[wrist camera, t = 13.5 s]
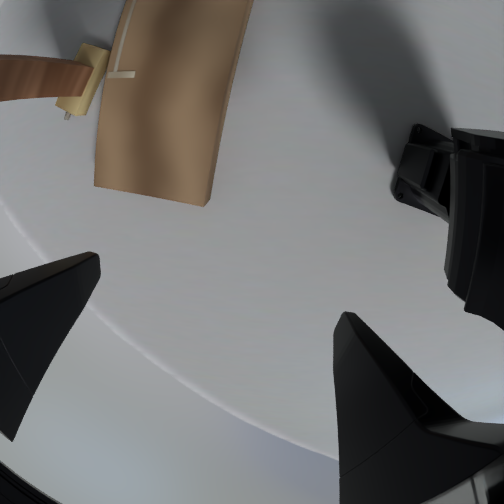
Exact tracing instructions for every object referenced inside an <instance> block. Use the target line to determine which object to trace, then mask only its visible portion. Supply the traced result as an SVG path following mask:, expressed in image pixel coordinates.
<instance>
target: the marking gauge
mask: <svg viewBox="0 0 504 504" xmlns="http://www.w3.org/2000/svg"><path fill="white" fill-rule="evenodd" d="M110 54H111V51H108V50H105V49H102V48H99V47H96V46H93V45H89V44H86V43H82V45H81V47H80V49H79V51H78V53H77V55H76V57H75V59H74V61H73V60H66V59H58V58H50V57H39V56H26V55H0V101H8V100H17V99H28V98H43V97H58V99H57V101H56V104H55V106H57V107H59V108H61V109H63V110H65V111H67V112H66V115H65V117H64V119H65V120H69V118H70V115H71V114H73V115H75V116H81V115H86V113H87V111H88V108H89V106H90V104H91V101H92V99H93V97H94V94H95V92H96V90H97V88H98V86H99V83H100V81H101V79H102V77H103V75H104V73H105V71H106V69H107V67H108V63H109V59H110Z"/></svg>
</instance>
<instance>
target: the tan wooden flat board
mask: <svg viewBox="0 0 504 504" xmlns="http://www.w3.org/2000/svg"><path fill="white" fill-rule="evenodd" d="M253 1H254V0H126V3H125V6H124V9H123V12H122V15H121V18H120V21H119V25H118V28H117V31H116V35H115V39H114V42H113V46H112V50H111V54H110V59H109V63H108V68H107V73H106V78H105V83H104V88H103V94H102V101H101V107H100V115H99V123H98V131H97V142H96V154H95V172H94V186H96V187H102V188H107V189H113V190H119V191H124V192H130V193H135V194H141V195H146V196H151V197H157V198H162V199H167V200H172V201H177V202H182V203H187V204H192V205H197V206H201V207H204V206H205V205H206V204H207V202H208V201H209V200H210V196H211V190H212V184H213V179H214V173H215V167H216V162H217V156H218V151H219V146H220V141H221V135H222V130H223V125H224V121H225V116H226V111H227V106H228V101H229V97H230V92H231V88H232V83H233V79H234V75H235V70H236V66H237V62H238V58H239V54H240V50H241V46H242V42H243V38H244V34H245V30H246V26H247V23H248V19H249V15H250V12H251V8H252V5H253Z"/></svg>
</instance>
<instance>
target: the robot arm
mask: <svg viewBox="0 0 504 504" xmlns="http://www.w3.org/2000/svg"><path fill="white" fill-rule="evenodd" d="M418 127H419V128H420V132H419V133H418V131H417V128H418ZM451 135H452V137H453V141H452V140H450V139H448V138H447V137H445V136H443V135H441V134H439V133H437V132H435V131H433V130H432V129H430V128H428V127H426V126H424V125H422V124H414V125H413V127H412V131H411V135H410V139H409V143H408V144H406V146H405V150H404V153H403V157H402V160H401V164H400V167H399V170H398V176H399V177H398V181H397V184H396V187H395V190H394V194H393V196H394V198H395V199H396V200H397V201H399V202H401V203H404V204H407V205H410V206H412V207H415V208H418V209H420V210H423V211H426V212H428V213H431V214H433V215H436V216H438V217H441V218H442V219H443V220H445V221H446V222H447V223H449V230H448V241H447V250H446V259H445V266H444V270H445V273H446V277H447V279H448V284H447V285H448V287H449V288H450V289H451V290H452V291H453V293H454V294H455V295H456V296H457V297H459V298H460V299H461V300H463V301H464V302H465V306H464V311H465V312H468V313H472V314H475V315H479V316H481V317H483V318H485V319H487V320H489V321H491V322H493V323H495V324H496V325H497V326H499V327H500V328H501V329H502V330H504V132H500V131H491V130H480V129H464V128H451ZM399 193H402V195H401V197H398V194H399ZM100 275H101V270H100V258H99V255H98V254H97V253H93V252H85V253H81V254H78V255H74V256H71V257H68V258H64V259H61V260H57V261H54V262H51V263H47V264H44V265H41V266H38V267H35V268H31V269H28V270H25V271H22V272H19V273H16V274H14V275H13V274H12V275H9V276H6V277H3V278H0V433H1V434H3V435H4V436H5V437H6V438H7V439H9V440H10V441H11V442H13V440H14V438H15V436H16V433H17V431H18V428H19V426H20V424H21V422H22V419H23V417H24V415H25V413H26V410H27V408H28V406H29V404H30V402H31V400H32V398H33V395H34V394H35V392H36V389H37V388H38V386H39V384H40V382H41V380H42V378H43V376H44V374H45V372H46V370H47V369H48V367H49V365H50V363H51V361H52V360H53V358H54V356H55V354H56V353H57V351H58V349H59V347H60V346H61V344H62V343H63V341H64V339H65V338H66V336H67V334H68V333H69V331H70V329H71V328H72V326H73V325H74V323H75V321H76V320H77V318H78V317H79V315H80V314H81V312H82V310H83V309H84V307H85V305H86V303H87V301H88V299H89V298H90V296H91V294H92V292H93V290H94V288H95V286H96V284H97V283H98V281H99V279H100ZM333 374H334V385H335V397H336V410H337V425H338V443H339V473H340V479H339V484H340V504H504V424H496V423H482V422H473V421H470V420H467V419H465V418H463V417H462V416H461V415H459V414H458V413H457V412H456V411H455V410H454V409H453V408H452V407H450V406H449V405H448V404H447V403H446V402H445V401H444V400H443V399H441V398H440V397H439V396H438V395H437V394H436V393H435V392H434V391H433V390H432V389H430V388H429V387H428V386H427V385H426V384H425V383H424V382H423V381H422V380H421V379H420V378H419V377H418V376H417V375H416V374H415V373H414V372H413V371H412V370H411V368H410V367H409V366H408V365H407V364H406V363H405V362H404V361H403V360H402V359H401V358H400V357H399V356H398V355H397V354H396V353H395V352H394V351H393V350H392V349H391V348H390V347H389V346H388V345H387V344H386V343H385V342H384V341H383V340H382V339H381V338H380V337H379V336H378V335H377V334H376V333H375V332H374V331H373V330H372V329H371V328H370V327H369V326H368V325H367V324H366V323H364V322H363V321H362V320H361V319H360V318H359V317H358V316H357V315H356V314H355V313H352V312H346V311H345V312H343V313H342V315H341V317H340V319H339V321H338V323H337V325H336V327H335V330H334V335H333ZM0 504H62V503H60V502H58V501H56V500H55V499H53V498H51V497H50V496H48V495H47V494H45V493H44V492H42V491H40V490H39V489H37V488H36V487H34V486H33V485H32V484H30V483H29V482H27V481H26V480H25V479H23V478H22V477H20V476H19V475H18V474H16V473H15V472H14V471H13V470H11V469H10V468H9V467H8V466H6V465H5V464H4V463H3V462H1V461H0Z"/></svg>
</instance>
